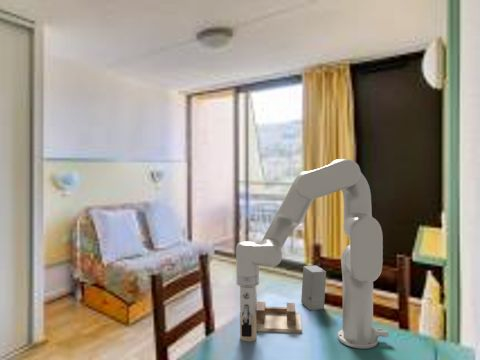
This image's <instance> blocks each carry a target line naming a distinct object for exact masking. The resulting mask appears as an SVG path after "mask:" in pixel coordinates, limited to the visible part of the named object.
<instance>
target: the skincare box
mask: <svg viewBox="0 0 480 360" xmlns="http://www.w3.org/2000/svg"><path fill="white" fill-rule="evenodd" d="M326 278H327V271H326V270H324V269H323V268H322V267H320V266H318V265H315V264H314V265H304V266H302V280H301V281H302V284H301V297H300V298H301V301H300V303H301V304H302V305H303V304H304V305H303V306H305V308H307V309H308V310H310V311H316V310H317V311H318V310H325V299H326V295H325V294H326V284H327V283H326V282H327V281H326V280H327V279H326Z"/></svg>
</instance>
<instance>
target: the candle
mask: <svg viewBox="0 0 480 360" xmlns="http://www.w3.org/2000/svg"><path fill="white" fill-rule="evenodd" d="M248 308H249V307H248ZM248 315H250V314H248ZM248 319H249V317H248ZM251 324H252V336H251V337H243V336H242V316H241V314H240V313H239V338H240V340H241V341H243V342H254V341H255V340H257V337H258V336H257V332H258V331H256V315H255V317H253V316H251Z"/></svg>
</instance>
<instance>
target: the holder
mask: <svg viewBox="0 0 480 360" xmlns="http://www.w3.org/2000/svg"><path fill="white" fill-rule="evenodd" d="M301 320H302V319H301V312H296V303H295V302H286V306H266V301H257V310H256V332H267V333H268V332H269V333H271V332H272V333H293V334H303V332H302V331H303V328H302V321H301Z"/></svg>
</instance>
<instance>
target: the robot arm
mask: <svg viewBox="0 0 480 360" xmlns="http://www.w3.org/2000/svg"><path fill="white" fill-rule="evenodd" d="M370 188H371V187H370V185H369V183H368V180H367V178H366V177H365V176H364V174H363V173H362V170H361V168H360V165H359V164H358V163H357V162H356V161H354V160H352V159H349V158H338V159H335V160H332V161H331V162H330V163H329V164H328V165H325V166H323V167H319V168H316V169H313V170H309V171H308V170H304V171H301V172H300V173H298V175H297V176H296V177H295V178H294V180H293V182H292V184H291V186H290V187H289V189H288V191H287V193H286V196H285V197H284V199H283V201H282V203H281V204H280V206H279V208H278V210H277V212H276V214H275V216H274V218H273V220H272V222H270V225H269V227H268V228H267V231H266V232H265V234H264V236H263V238H262V239H261V242H260V244H258V243H257V242H254V241H250V240H249V241H248V240H245V241H240V242H238V243H236V247H235V262H236V263H235V265H236V267H235V268H236V269H235V271H236V272H235V273H236V274H235V275H236V277H235V278H236V286H238V287H239V315H240V314H241V316H242V336H243V337H251V336H252V324H251V316H253V317H255V315H256V310H257V302H258V299H257V295H258V293H257V292H258V291H257V286H258V285H259V284H260V267H261V266H262V267H265V268H266V267H268V268H274V267H277V266H278V265H279V264H280V263H281V262H282V259H283V252H282V249H283V247H284V245H285V243H286V241H287V240H288V238H289V236H290V235H291V234H292V231H294V230H295V229H297V227H298V226H300V225H301V223H302V222H304V221H303V220H304V219H305V217H306V215H307V213H308V211H309V209H310V207H311V205H312V204H313V202H314V200H315V199H318V198H322V197H325V196H328V195H331V194H334V193H337V192H339V191H341V192H342V195H343V231H344V234H345V235H346V236H347V238H349V244H348V245H347V246H345V247H344V249H343V251H342V253H341V257H340V264H341V274H342V275H341V276H342V329H339V331H338V332H337V339H338V341H339V342H341V344H343V345H345V346H347V347H350V348H353V349H354V348H355V349H362V350H365V349H371V348H375V347H376V346H377V345H378V343H379V339H378V338H380V337H381V338H389V331H388V330H383V328H382V327H375V326H374V282H375V281H376V280H377V279H378V278H379V277H380V275H381V273H382V270H383V262H384V259H383V255H384V253H383V249H384V244H383V242H384V240H383V237H384V236H383V230H382V226H381V224H380V223H379V221H378V220H377V219H376V218H374V217H373V215H372V214H373V213H372V211H373V209H372V194H371V189H370ZM248 307H249V308H248ZM248 314H250V315H248ZM248 317H249V319H248Z"/></svg>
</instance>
